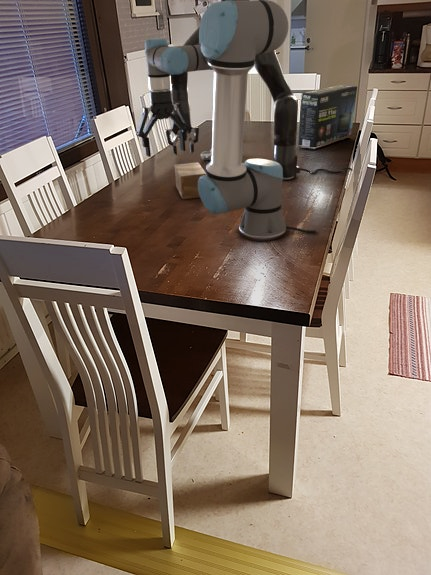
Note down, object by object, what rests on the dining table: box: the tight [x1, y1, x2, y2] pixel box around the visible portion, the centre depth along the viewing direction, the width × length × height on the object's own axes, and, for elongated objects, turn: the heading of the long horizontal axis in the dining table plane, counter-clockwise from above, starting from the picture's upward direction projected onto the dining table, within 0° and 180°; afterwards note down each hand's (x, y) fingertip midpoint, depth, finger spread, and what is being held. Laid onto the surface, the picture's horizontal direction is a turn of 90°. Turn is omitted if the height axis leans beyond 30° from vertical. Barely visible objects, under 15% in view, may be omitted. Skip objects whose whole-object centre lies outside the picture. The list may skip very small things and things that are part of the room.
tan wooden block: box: [174, 162, 206, 200], centre depth 184 cm, size 16×10×9 cm, turn 13°
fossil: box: [200, 148, 212, 162], centre depth 224 cm, size 18×11×15 cm
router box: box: [297, 84, 358, 151], centre depth 238 cm, size 36×11×27 cm, turn 134°
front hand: (166, 153), depth 167 cm, fingers open, 13 cm apart
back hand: (183, 153), depth 191 cm, fingers open, 6 cm apart
